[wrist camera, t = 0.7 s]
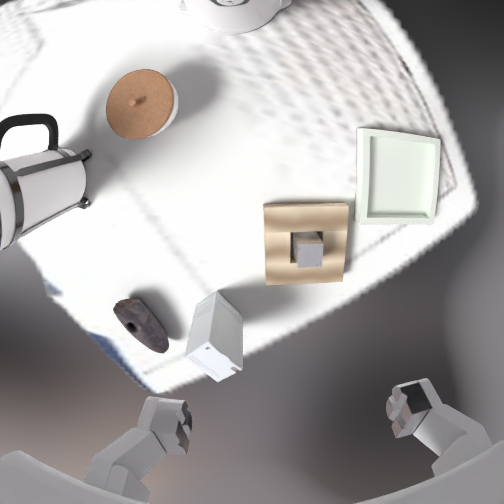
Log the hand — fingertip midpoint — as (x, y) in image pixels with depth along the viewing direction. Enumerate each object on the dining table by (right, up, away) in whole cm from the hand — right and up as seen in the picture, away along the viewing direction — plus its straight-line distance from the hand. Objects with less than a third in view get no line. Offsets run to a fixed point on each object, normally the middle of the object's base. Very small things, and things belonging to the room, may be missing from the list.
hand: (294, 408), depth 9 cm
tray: (+24, +19, +34) cm, 46 cm away
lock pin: (+8, +8, +39) cm, 41 cm away
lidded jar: (-18, +30, +30) cm, 46 cm away
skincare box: (-8, -6, +45) cm, 46 cm away
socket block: (+8, +8, +39) cm, 40 cm away
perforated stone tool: (-24, -8, +47) cm, 53 cm away
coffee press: (-37, +22, +34) cm, 55 cm away
